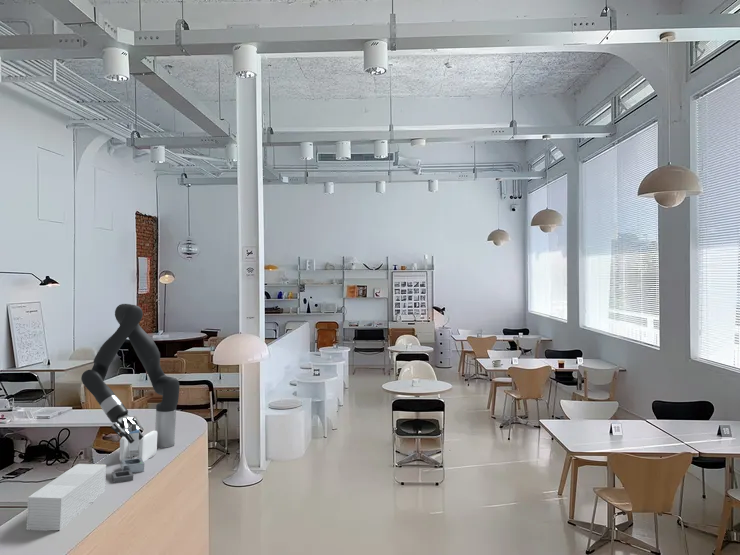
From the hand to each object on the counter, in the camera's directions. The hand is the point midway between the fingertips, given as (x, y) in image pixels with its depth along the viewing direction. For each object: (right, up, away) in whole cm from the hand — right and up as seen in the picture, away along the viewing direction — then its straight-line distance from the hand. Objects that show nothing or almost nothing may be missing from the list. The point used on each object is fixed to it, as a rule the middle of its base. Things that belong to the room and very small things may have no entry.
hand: (137, 440), depth 232 cm
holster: (-2, -13, -10) cm, 17 cm away
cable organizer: (-6, -13, +16) cm, 22 cm away
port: (-2, -13, 0) cm, 13 cm away
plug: (-2, -4, 0) cm, 5 cm away
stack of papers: (-8, -13, -39) cm, 42 cm away
